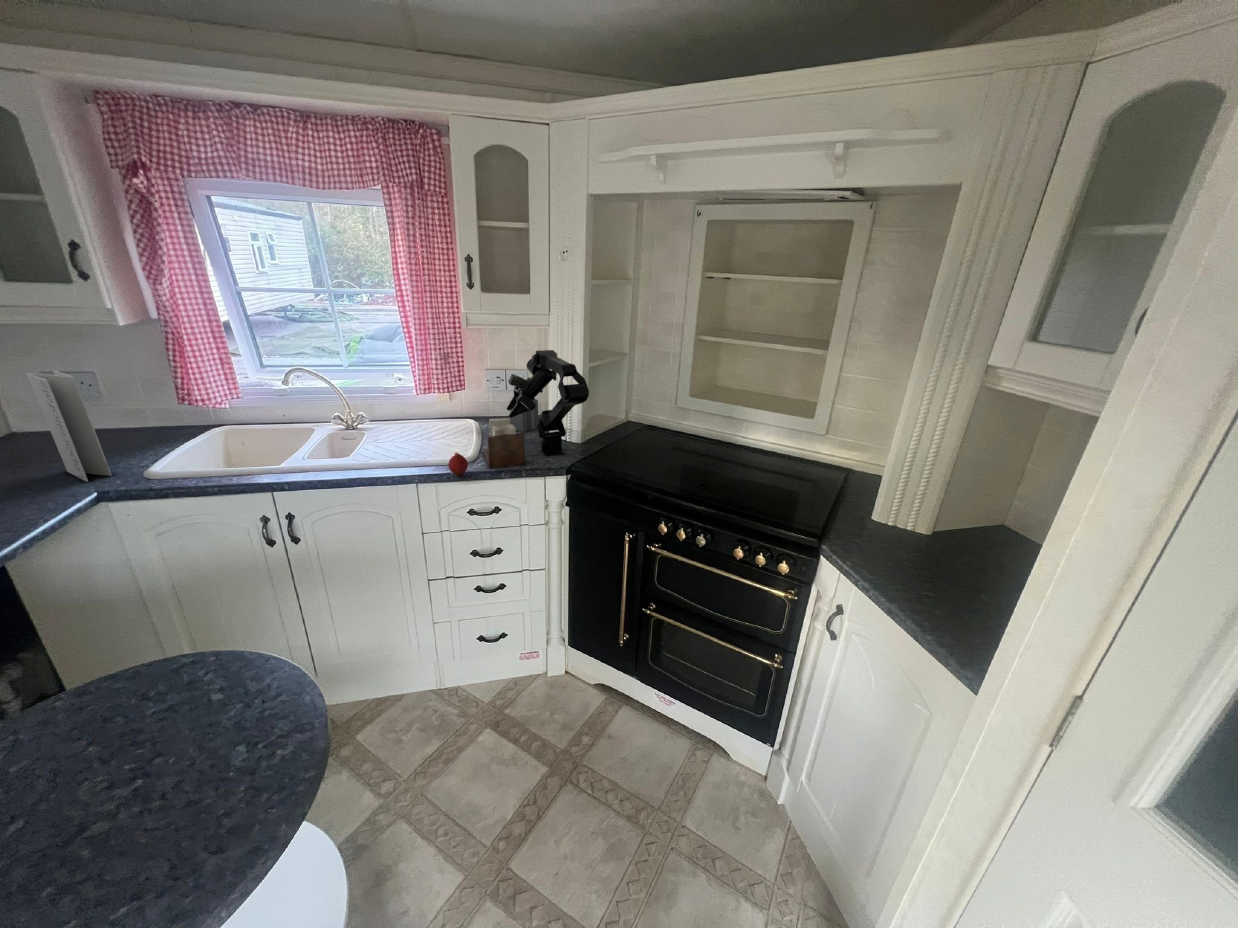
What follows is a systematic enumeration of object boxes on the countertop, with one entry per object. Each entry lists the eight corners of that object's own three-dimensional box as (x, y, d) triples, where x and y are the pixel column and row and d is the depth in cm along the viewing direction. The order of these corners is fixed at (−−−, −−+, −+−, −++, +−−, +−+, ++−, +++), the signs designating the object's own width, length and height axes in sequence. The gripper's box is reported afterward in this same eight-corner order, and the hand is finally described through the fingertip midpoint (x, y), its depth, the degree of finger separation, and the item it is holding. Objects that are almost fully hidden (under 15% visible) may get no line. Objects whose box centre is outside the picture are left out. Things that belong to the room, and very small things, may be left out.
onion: (460, 470, 162) (458, 447, 159) (472, 475, 159) (470, 451, 156) (445, 476, 157) (443, 452, 154) (457, 480, 154) (455, 457, 151)
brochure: (67, 471, 150) (26, 373, 139) (91, 465, 154) (53, 370, 143) (87, 481, 144) (46, 380, 133) (112, 475, 148) (74, 376, 137)
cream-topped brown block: (515, 449, 182) (514, 415, 178) (525, 464, 169) (523, 428, 164) (482, 452, 178) (480, 417, 173) (489, 468, 164) (487, 431, 160)
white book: (491, 451, 176) (489, 419, 172) (511, 450, 178) (509, 418, 174) (491, 453, 174) (489, 420, 170) (511, 452, 176) (510, 419, 172)
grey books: (526, 424, 211) (525, 395, 206) (538, 427, 207) (537, 398, 203) (510, 429, 204) (509, 399, 199) (523, 432, 200) (522, 402, 196)
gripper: (519, 361, 181) (489, 392, 182) (524, 372, 165) (492, 405, 166) (540, 382, 186) (512, 411, 187) (548, 394, 170) (517, 426, 171)
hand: (508, 413), depth 178 cm, fingers open, 9 cm apart
